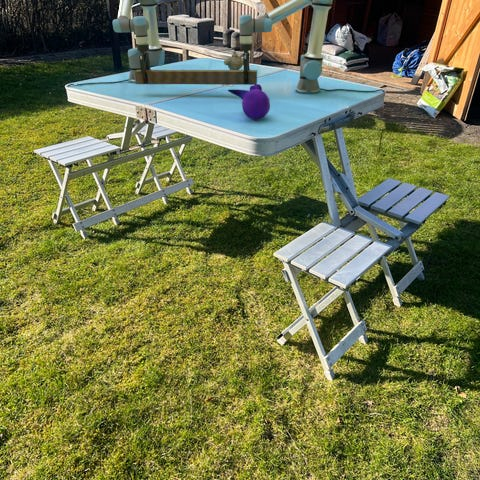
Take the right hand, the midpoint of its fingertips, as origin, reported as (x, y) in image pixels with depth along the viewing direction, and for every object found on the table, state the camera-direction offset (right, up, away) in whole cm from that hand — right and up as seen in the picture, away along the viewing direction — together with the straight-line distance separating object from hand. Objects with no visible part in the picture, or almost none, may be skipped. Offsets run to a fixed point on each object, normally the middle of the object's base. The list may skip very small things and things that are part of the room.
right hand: (246, 82), depth 285 cm
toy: (+2, -32, -37) cm, 49 cm away
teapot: (-8, +40, +85) cm, 94 cm away
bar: (-32, +1, +4) cm, 33 cm away
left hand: (-65, +3, +7) cm, 65 cm away
